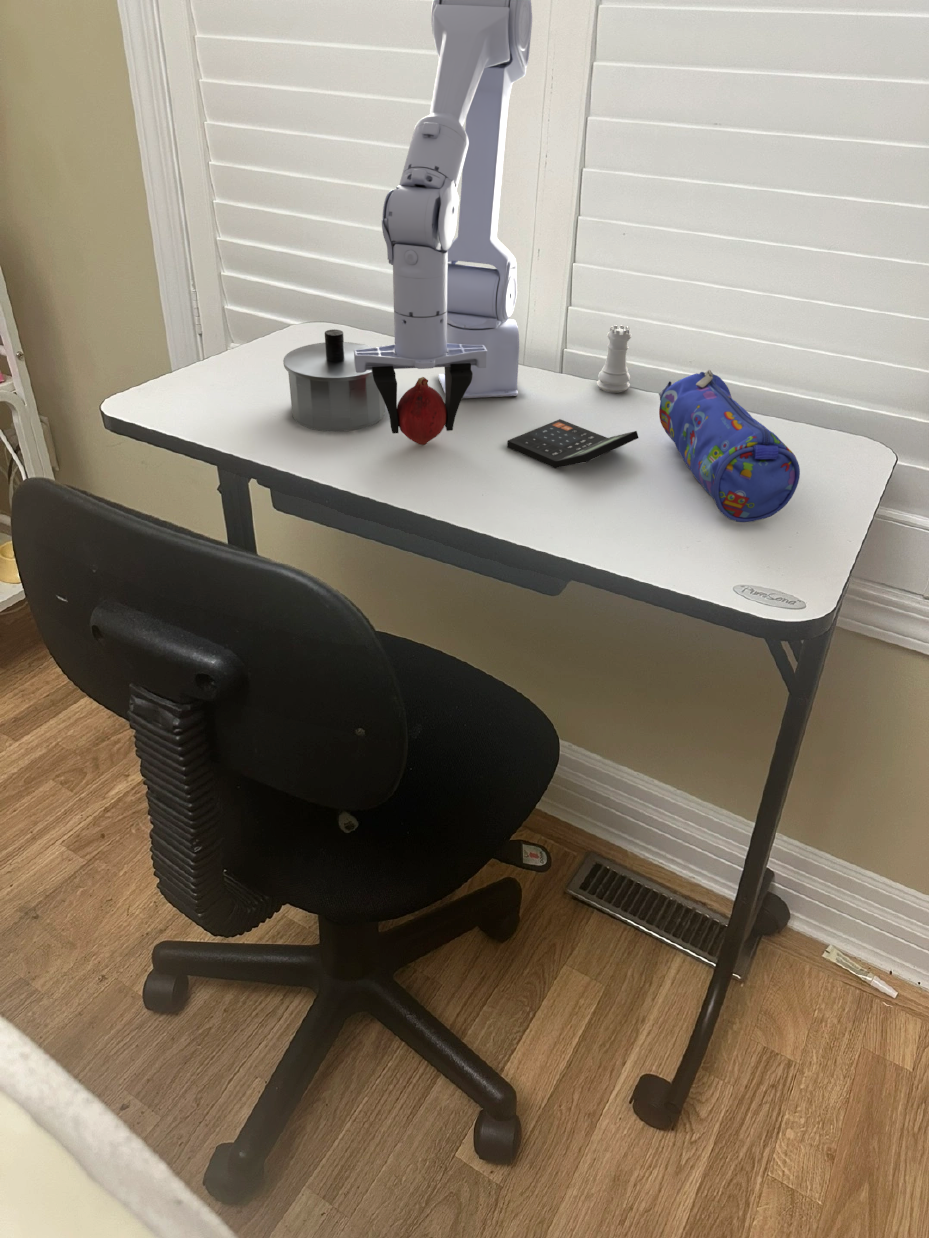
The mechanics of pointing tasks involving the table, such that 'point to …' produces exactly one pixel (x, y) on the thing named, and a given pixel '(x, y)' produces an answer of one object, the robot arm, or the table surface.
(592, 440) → the calculator
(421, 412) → the red oval fruit
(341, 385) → the pot
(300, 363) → the pot lid
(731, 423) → the pencil case
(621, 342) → the rook chess piece
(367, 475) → the table surface
